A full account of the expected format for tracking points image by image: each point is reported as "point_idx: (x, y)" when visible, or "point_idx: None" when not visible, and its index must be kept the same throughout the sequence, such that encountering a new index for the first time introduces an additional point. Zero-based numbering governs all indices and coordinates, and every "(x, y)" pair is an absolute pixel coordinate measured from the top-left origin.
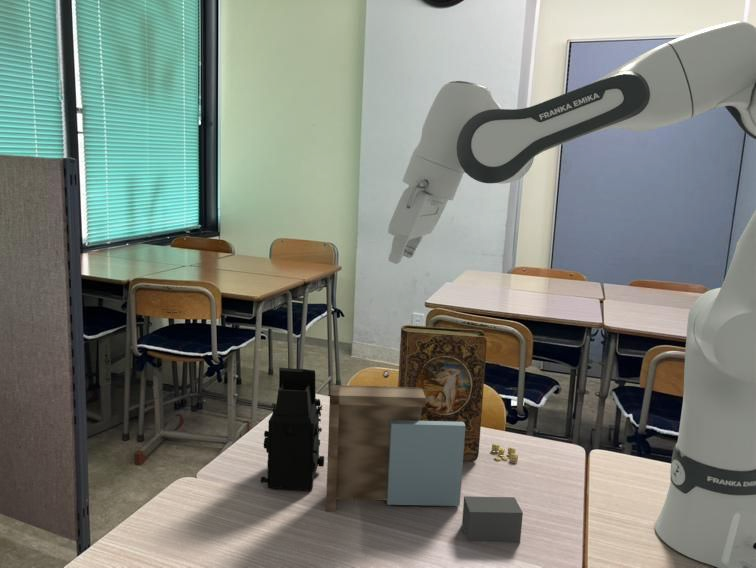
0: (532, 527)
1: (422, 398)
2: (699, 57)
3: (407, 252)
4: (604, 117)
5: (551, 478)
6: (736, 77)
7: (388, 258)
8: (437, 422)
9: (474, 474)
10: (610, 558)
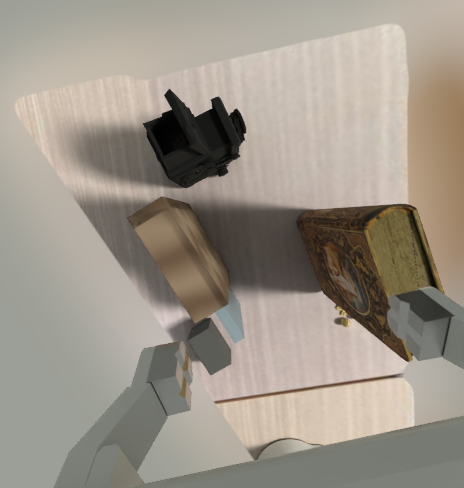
0: (237, 363)
1: (193, 319)
2: None
3: (405, 320)
4: None
5: (326, 358)
6: None
7: (143, 350)
8: (224, 314)
9: (297, 298)
10: (228, 416)
